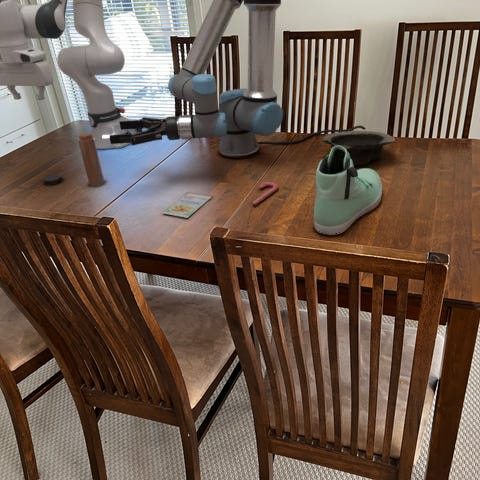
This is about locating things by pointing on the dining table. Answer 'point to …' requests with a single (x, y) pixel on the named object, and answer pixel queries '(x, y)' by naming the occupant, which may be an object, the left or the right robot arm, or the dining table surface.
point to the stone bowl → (360, 144)
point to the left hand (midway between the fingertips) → (29, 99)
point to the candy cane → (266, 192)
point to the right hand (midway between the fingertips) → (115, 132)
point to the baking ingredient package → (187, 205)
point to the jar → (91, 159)
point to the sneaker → (343, 192)
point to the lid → (53, 179)
